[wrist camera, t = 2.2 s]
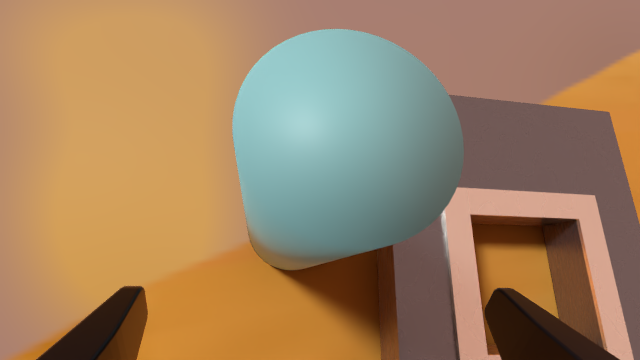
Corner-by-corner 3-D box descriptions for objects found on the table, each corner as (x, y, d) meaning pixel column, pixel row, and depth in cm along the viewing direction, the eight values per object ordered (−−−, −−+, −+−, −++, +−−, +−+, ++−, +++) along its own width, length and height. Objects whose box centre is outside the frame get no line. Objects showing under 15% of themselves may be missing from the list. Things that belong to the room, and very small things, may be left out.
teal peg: (335, 270, 19) (477, 251, 7) (244, 269, 18) (221, 246, 6) (334, 185, 21) (450, 43, 8) (250, 181, 20) (241, 14, 7)
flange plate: (660, 487, 19) (723, 519, 16) (388, 520, 16) (413, 565, 14) (576, 127, 25) (612, 110, 23) (370, 108, 22) (385, 86, 20)
